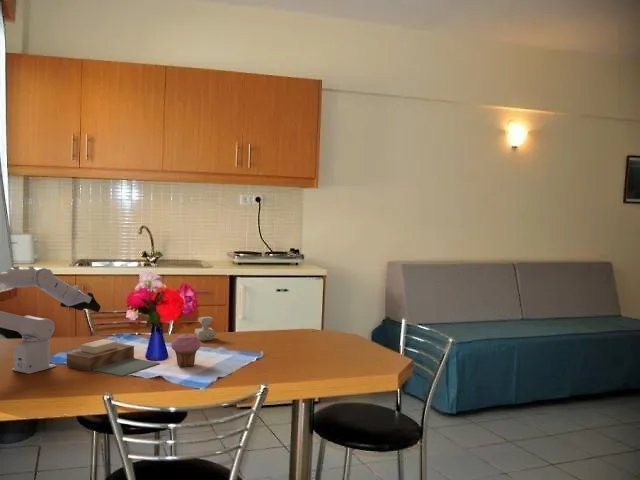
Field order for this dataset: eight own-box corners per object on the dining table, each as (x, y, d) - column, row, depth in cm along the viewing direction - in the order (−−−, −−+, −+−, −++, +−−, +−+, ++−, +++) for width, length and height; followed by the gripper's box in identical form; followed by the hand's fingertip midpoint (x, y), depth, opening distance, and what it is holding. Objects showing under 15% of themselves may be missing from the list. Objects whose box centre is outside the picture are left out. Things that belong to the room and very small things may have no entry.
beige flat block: (94, 353, 184) (94, 347, 184) (80, 350, 187) (80, 344, 187) (116, 347, 192) (116, 341, 192) (103, 345, 195) (103, 339, 195)
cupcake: (171, 369, 182) (172, 337, 181) (170, 362, 190) (171, 331, 190) (201, 368, 184) (201, 336, 184) (199, 361, 193) (199, 330, 192)
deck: (89, 371, 179) (89, 358, 179) (66, 366, 183) (66, 353, 183) (134, 357, 195) (134, 345, 195) (111, 353, 199) (111, 342, 199)
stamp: (193, 337, 225) (193, 315, 225) (210, 336, 228) (210, 314, 228) (199, 343, 217) (199, 320, 217) (217, 341, 220) (217, 319, 219)
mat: (121, 376, 174) (121, 375, 174) (92, 370, 180) (92, 369, 180) (159, 363, 188) (159, 362, 188) (131, 358, 194) (131, 357, 194)
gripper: (81, 280, 185) (111, 298, 196) (50, 278, 192) (80, 296, 202) (72, 300, 182) (102, 318, 192) (40, 297, 189) (71, 315, 199)
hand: (90, 308), depth 197 cm, fingers open, 7 cm apart
